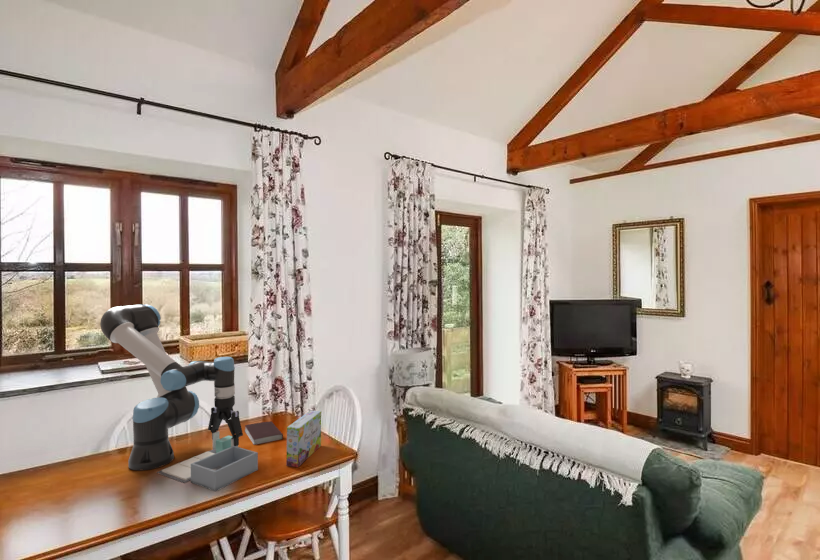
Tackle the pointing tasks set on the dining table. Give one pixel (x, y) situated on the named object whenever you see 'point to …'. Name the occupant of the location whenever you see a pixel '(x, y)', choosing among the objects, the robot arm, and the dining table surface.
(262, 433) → the book
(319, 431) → the snack box
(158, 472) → the mat
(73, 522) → the dining table surface
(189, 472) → the lid
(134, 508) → the dining table surface
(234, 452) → the tub
